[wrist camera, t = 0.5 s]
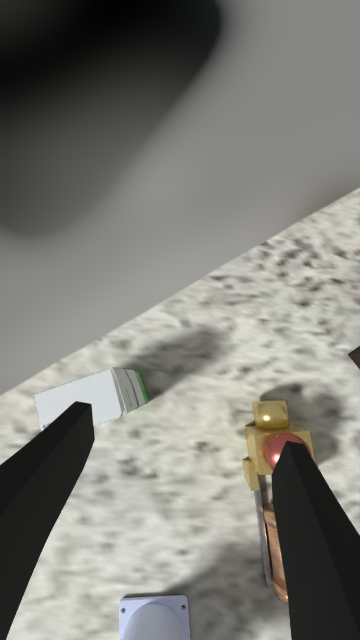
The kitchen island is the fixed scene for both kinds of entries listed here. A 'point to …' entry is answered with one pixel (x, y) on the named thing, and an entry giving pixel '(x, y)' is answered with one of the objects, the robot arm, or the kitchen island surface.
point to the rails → (263, 536)
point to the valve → (270, 439)
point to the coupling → (275, 555)
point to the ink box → (94, 396)
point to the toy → (355, 356)
